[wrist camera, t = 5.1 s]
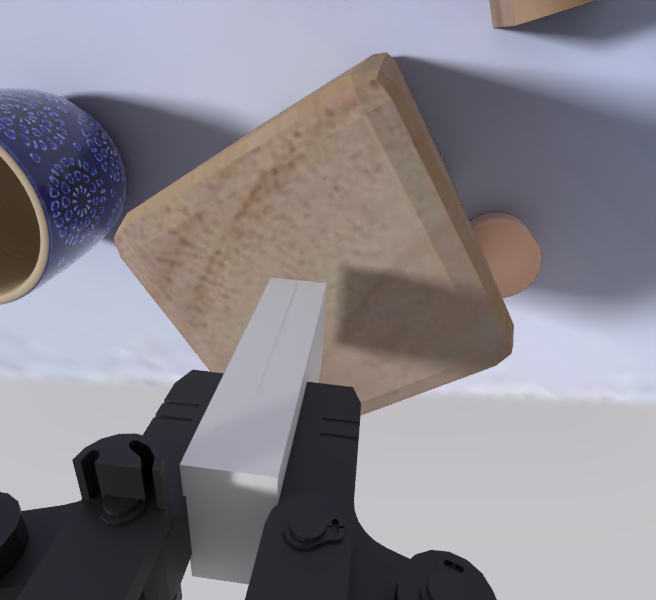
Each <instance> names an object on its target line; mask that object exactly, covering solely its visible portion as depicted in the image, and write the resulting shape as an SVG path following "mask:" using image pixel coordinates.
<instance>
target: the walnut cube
mask: <svg viewBox="0 0 656 600" xmlns="http://www.w3.org/2000/svg"><path fill="white" fill-rule="evenodd" d="M592 1H596V0H490V7H491V15H492V23H493V28H498V27H507V26H516V25H519V24H522V23H526V22H529V21H532V20H535V19H538V18H542V17H545V16H548V15H551V14H554V13H557V12H561V11H564V10H567V9H570V8H573V7H577V6H580V5H583V4H586V3H589V2H592Z"/></svg>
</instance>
